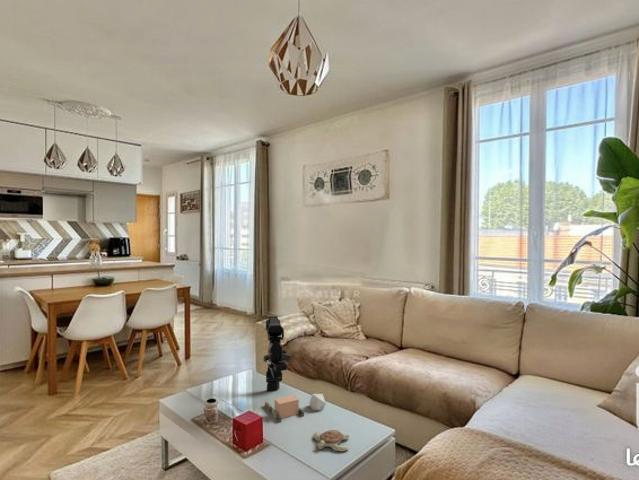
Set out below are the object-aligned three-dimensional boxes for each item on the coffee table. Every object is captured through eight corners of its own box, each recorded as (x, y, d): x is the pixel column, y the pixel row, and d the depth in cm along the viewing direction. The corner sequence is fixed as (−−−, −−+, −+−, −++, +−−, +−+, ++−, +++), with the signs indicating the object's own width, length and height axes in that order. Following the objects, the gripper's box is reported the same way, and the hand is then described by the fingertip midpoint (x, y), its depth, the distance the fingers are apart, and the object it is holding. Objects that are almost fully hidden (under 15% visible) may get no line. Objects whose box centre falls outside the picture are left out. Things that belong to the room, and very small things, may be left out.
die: (319, 417, 180) (330, 399, 183) (304, 407, 181) (315, 389, 184) (319, 415, 188) (329, 398, 190) (305, 406, 189) (315, 388, 192)
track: (264, 408, 187) (264, 401, 187) (287, 403, 194) (287, 396, 194) (279, 425, 171) (279, 418, 171) (304, 419, 177) (304, 411, 177)
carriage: (274, 413, 180) (274, 399, 179) (293, 408, 184) (293, 394, 184) (279, 418, 174) (279, 404, 174) (298, 413, 179) (298, 399, 179)
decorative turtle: (302, 442, 157) (302, 431, 157) (328, 428, 170) (328, 417, 169) (334, 461, 145) (334, 448, 145) (360, 444, 157) (360, 432, 157)
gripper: (296, 351, 188) (296, 382, 189) (282, 342, 205) (282, 370, 205) (276, 355, 183) (276, 386, 183) (263, 345, 199) (263, 374, 200)
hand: (275, 378), depth 193 cm, fingers closed
